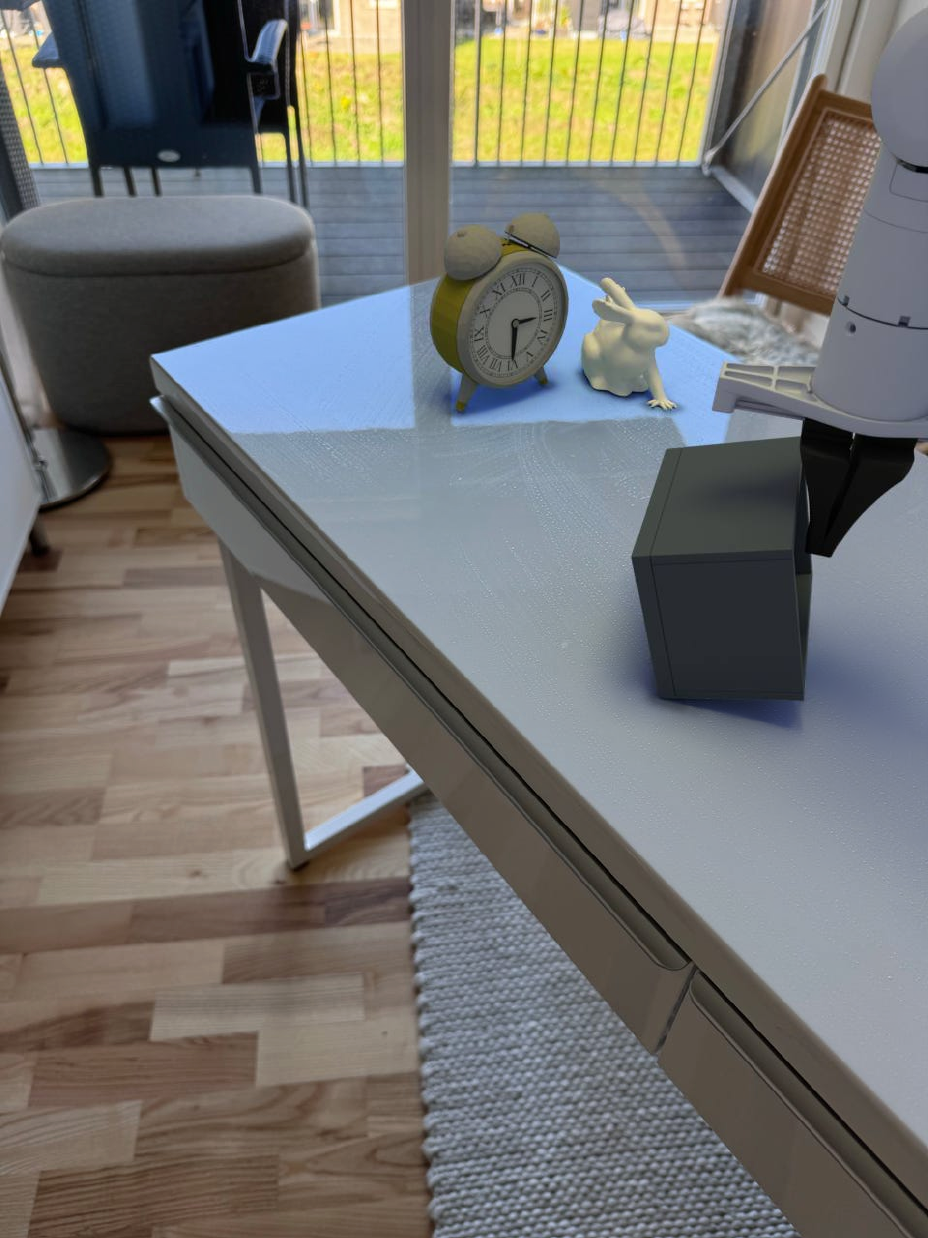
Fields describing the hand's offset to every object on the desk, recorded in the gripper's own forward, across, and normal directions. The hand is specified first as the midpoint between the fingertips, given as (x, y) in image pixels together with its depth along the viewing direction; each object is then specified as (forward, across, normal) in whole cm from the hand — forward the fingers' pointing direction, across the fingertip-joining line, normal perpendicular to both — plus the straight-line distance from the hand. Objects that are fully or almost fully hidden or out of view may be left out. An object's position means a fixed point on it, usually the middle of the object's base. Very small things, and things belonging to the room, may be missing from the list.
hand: (818, 545), depth 51 cm
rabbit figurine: (+9, +18, -33) cm, 38 cm away
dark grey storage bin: (+7, +3, 0) cm, 8 cm away
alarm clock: (+9, +28, -28) cm, 40 cm away
